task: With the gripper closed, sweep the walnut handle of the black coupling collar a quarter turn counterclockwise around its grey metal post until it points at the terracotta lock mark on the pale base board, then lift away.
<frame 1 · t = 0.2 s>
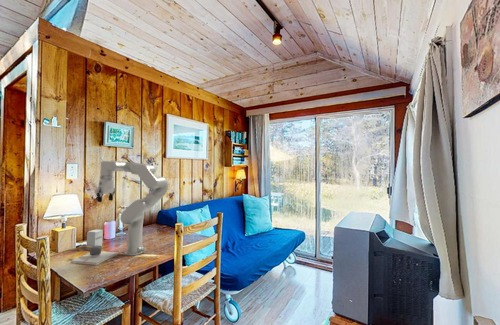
hand: (105, 201, 172), 36 cm above the table, tool pointing down, fingers open, 9 cm apart
supplement box: (94, 247, 177), on the table
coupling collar: (89, 249, 157), point 5 cm above the table, hinge at 0.0°
post base: (95, 258, 156), on the table
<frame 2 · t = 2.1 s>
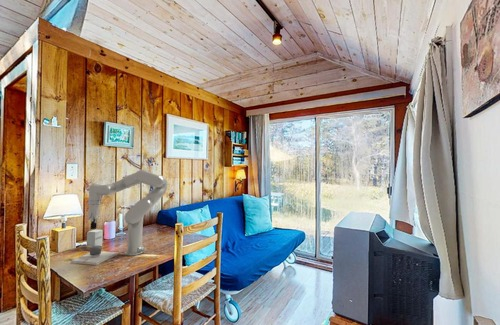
hand: (93, 228, 163), 18 cm above the table, tool pointing down, fingers closed
nothing on the table moved.
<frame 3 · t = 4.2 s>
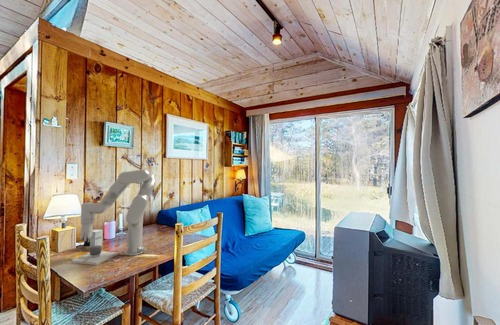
hand: (86, 248, 159), 6 cm above the table, tool pointing down, fingers closed
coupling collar: (89, 250, 156), point 5 cm above the table, hinge at 6.4°, touching gripper
everything else where it was.
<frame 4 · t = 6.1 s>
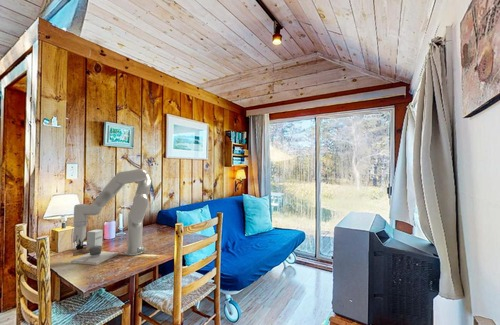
hand: (79, 251, 153), 6 cm above the table, tool pointing down, fingers closed
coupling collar: (87, 251, 153), point 5 cm above the table, hinge at 49.7°, touching gripper
everything else where it was.
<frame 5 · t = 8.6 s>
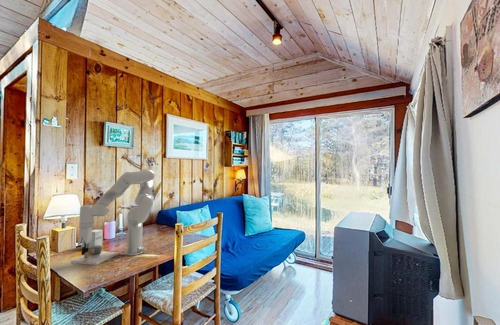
hand: (84, 254, 148), 6 cm above the table, tool pointing down, fingers closed
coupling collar: (92, 252, 152), point 5 cm above the table, hinge at 106.7°, touching gripper
everything else where it was.
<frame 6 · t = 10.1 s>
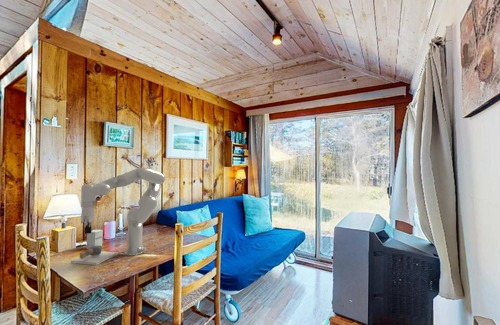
hand: (88, 233, 148), 19 cm above the table, tool pointing down, fingers closed
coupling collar: (90, 252, 152), point 5 cm above the table, hinge at 94.3°
everything else where it was.
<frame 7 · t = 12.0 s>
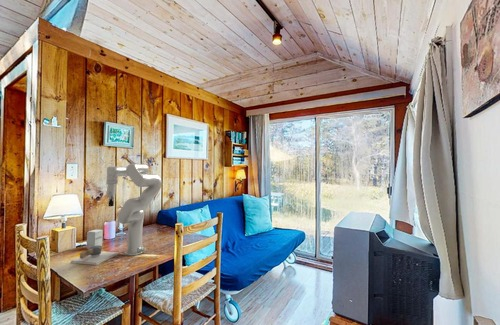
hand: (111, 206, 182), 31 cm above the table, tool pointing down, fingers closed
nothing on the table moved.
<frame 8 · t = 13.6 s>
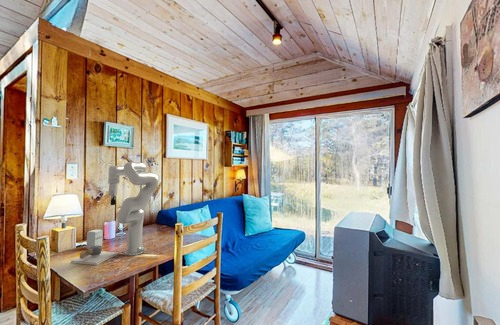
hand: (113, 204, 185), 31 cm above the table, tool pointing down, fingers closed
nothing on the table moved.
at the end: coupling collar at +94° (first picture: +0°); supplement box moved 0.2 cm from its start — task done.
